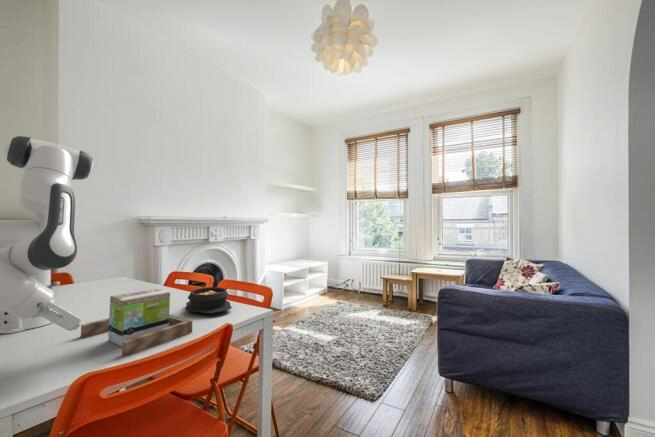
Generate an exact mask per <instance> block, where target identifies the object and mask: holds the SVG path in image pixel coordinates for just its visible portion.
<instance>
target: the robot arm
mask: <svg viewBox="0 0 655 437" xmlns="http://www.w3.org/2000/svg"><path fill="white" fill-rule="evenodd" d="M4 152H5V153H4V154H5V157H6V161H7V162H8V163H9V164H10V165H12V166H13V167H16V168H19V169H23V172H22V176H21V180H20V194H19V199H18V203H19V205H20V207H22V209H24V210H25V211H27V212H29V213H31V214H33V215H34V216H33V219H30V220H29V219H28V220H27V219H26V220H25V219H23V220H22V219H21V220H20V219H17V220H16V219H8V220H7V219H6V220H0V334H13V333H17V332H22V331H26V330H31V329H35V328H38V327H39V328H40V327H43V326H46V325H49V324H51V323H53V324H54V325H56V326H57V327H61V328H62V329H64V330H66V331H68V332H71V331H76V330H78V328H79V327H81V324H80V323H81V321H82V318H81V317H79V316H78V315H76V314H74V313H73V312H71V311H69V310H68V309H66V308H64V307H63V306H60V305H58V304H56V303H55V301H56V298H55V297H54V295H55V292H54V291H53V284H52V283H51V282H52V281H51V280H52V270H57V269H62V268H65V267H67V266H68V265H70V264H71V263H72V262H74V260H75V258H76V256H77V255H78V245H77V240H76V236H75V218H76V217H75V216H76V215H75V214H76V213H75V212H76V211H75V210H76V196H75V194H74V191H73V189H72V180H73V181H74V180H75V181H76V180H80V181H81V180H84V179H87V178H88V177H89V176H90V175H91V174H92V172H93V170H94V166H95V165H94V160H93V157H92V155H91V154H89V153H88V152H85V151H83V150H77V149H75V148H72V147H70V146H68V145H64V144H61V143H54V142H51V141H46V140H41V139H36V138H32V137H31V136H25V135H24V136H23V135H17V136H14V137H12V139H10V140H9V142H8V143H6V146H5V149H4Z"/></svg>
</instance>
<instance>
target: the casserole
mask: <svg viewBox="0 0 655 437" xmlns="http://www.w3.org/2000/svg"><path fill="white" fill-rule="evenodd" d="M228 296H229V293H228V291H227V288H225V287H216V286H215V287H213V286H212V287H210V286H209V287H202V288H197V289H193V290H192V291H190V293H189V295H188V296H187V299H188V301H187V302H186V304H185V305H186V306H185V310H187V311H189V312H194V313H198V314H199V313H200V314H218V313H222V312H225V311H226V312H227V311H229V310H231V309H232V308H233V307H232V306H231V302H230V301H228V300H227V298H228Z"/></svg>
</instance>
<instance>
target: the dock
mask: <svg viewBox="0 0 655 437" xmlns="http://www.w3.org/2000/svg"><path fill="white" fill-rule="evenodd" d="M193 323H194V322H193V320H191V319H187V318H183V317H181V316H180V317H179V316H176V315H174V314H169V327H165V328H162V329H159V330H156V331H153V332H150V333H147V334H144V335H140V336H137V337H134V338H131V339H128V340H125V341H122V347H121V356H124V357H126V358H127V356H130V355H133V354H134V355H135V354H136V353H139V352H142V351H145V350H147V349H150V348H153V347H155V346H158V345H160V344H164V343H167V342H169V341H171V340H174V339H177V338H181V337H183V336H185V335H189V334H191V333H193ZM106 332H107V333H108V332H109V317H108V318H103V319H100V320H96V321H91V322H87V323H83V324H80V337H81V338H83V339H84V338H88V337H92V336H95V335H99V334H102V333H106Z"/></svg>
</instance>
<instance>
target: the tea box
mask: <svg viewBox="0 0 655 437" xmlns="http://www.w3.org/2000/svg"><path fill="white" fill-rule="evenodd" d="M170 301H171V293H170V292H168V291H166V290H162V289H159V288H151V289H147V290H139V291H134V292H129V293H122V294H116V295H111V296H110V298H109V313H108V314H109V315H108V316H109V317H108V318H109V331H108V332H107V333H108V335H107V340H108V341H109V342H112V343H114V344H115V345H118V346H119V347H121V348H122V341H125V340H128V339H131V338H134V337H137V336H140V335H144V334H147V333H150V332H153V331H156V330H159V329H162V328H165V327H169V315H170Z"/></svg>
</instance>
